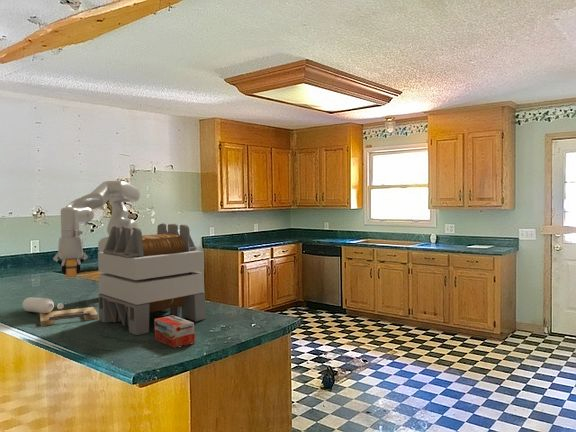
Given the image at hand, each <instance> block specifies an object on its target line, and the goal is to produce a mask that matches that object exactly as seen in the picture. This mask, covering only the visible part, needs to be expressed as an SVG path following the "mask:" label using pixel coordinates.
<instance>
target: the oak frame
mask: <svg viewBox="0 0 576 432" xmlns="http://www.w3.org/2000/svg"><path fill="white" fill-rule="evenodd" d="M77 317H83V318H84V320H85V321H92V320H99V312H98V311H97V310H96V308H95V307H94V306H90V307H89V306H88V307H80V308H70V309H63V310H62V309H61V310H52V311H51V312H49V313H39V321H40V327H44V326H45V327H46V326H52V325H55V320H59V319H60V320H61V319H69V318H77Z"/></svg>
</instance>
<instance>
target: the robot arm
mask: <svg viewBox="0 0 576 432" xmlns="http://www.w3.org/2000/svg"><path fill="white" fill-rule="evenodd" d="M140 197H141V193H140V190H139V188H138V187H137V186H135V185H133V184H131V183H129V182H127V181H123V180H105V181H103V182H102V183H100V184H99V185H98V186H97V187H96V188H95V189H93V191H91V192H90V193H88V194H85V195H83V196H81V197H78V198H76V199H73V200H72V201H70V202H69V203H68V204H67V205H66V206H65V207H62V208H61V209H60V234H61V235H60V237H58V250H57V253H56V254H55V256H54V257H53V258H52V260H53V261H55V262H56V263H58V264H59V265H60V266H61V273H62V274H63V275H65V276H66V270H65V260H66V259H77V275H78V274H80V272H81V265H82V264H83V262H84V261H86V260H87V259H88V258H89V256H88V254H87V253H86V252H85V251H84V250H83V242H82V236H80V235H83V231H81V230H80V224H81V223H83V224H84V223H89V222H92V221H93V219H94V217H95V213H94V210H96V209H99V208H100V209H101V207H103V206H104V205H105V204H107V203H108V201H109V202H110V204H111V208H112V209H111V210H112V212H111V215H110V218H109V220H108V223H107V228H106V233H107V235H109V234H110V232H111V229H112V227H115V226H119V227H120V235H121V232H122V229H123V228H121V227H128V228H131V235H132V233H133V230H134V229H132V228H138V229H139V227H138V226H139V225H138V223H137V221H136V220H134V219H131V218H129V210H128V208H127V206H126V205H125V203H137V201H139V200H140ZM108 237H109V236H106V237H102V238H100V239H99V241H98V243H97V249H98V252H103V250H104V249H105V246H106V243H107V240H108ZM100 274H105V273H104V272H100Z"/></svg>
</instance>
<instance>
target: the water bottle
mask: <svg viewBox="0 0 576 432" xmlns="http://www.w3.org/2000/svg"><path fill="white" fill-rule="evenodd" d="M21 306H22V309H23V310H24V311H26V312H32V313H39V314H40V313H49V312H53V311H54V310H53V309H54V307H55V303H54V301H53V300H52V299H51V298H47V297H46V298H45V297H34V296H32V297H31V296H28V297H26V298H25V299H24V300H23V302H22V305H21ZM56 307H57V309H58V310H62V309H64V307H65V306H64V304H63V303H61V302H60V303H58V304H57V305H56Z"/></svg>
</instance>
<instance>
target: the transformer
mask: <svg viewBox="0 0 576 432" xmlns="http://www.w3.org/2000/svg"><path fill="white" fill-rule="evenodd" d="M121 228H123V229H122V232H121V235H120V227H119V226H115V227H112V229H111V232H110V234H108V236H107V237H108V240H107V243H106V246H105V249H104V250H103V252H99V251H98V252H97V263H98V264H97V265H98V272H100V274H98V321H99V322H103V323H111V322H112V323H113V322H114V323H117V322H119V323H120V322H121V324H122V326H123V327H124V326H128V332H129V334H133V335H135V336H140V335H143V334H147V333H149V332H150V313H153V312H154V313H155V312H158V311H161V312H164V313H167V312H169V314H171V315H174V316H176V317H179V316H180V314H181V318H184V319H188V320H190V321H192V322H193V321H194V322H199V321H203V320H206V319H207V313H206V311H207V310H206V293H205V282H204V273H203V272H201V271H204V270H205V252H204V250H197V249H198V248H197V246H196V245H195V243H194V241H193V239H192V237H191V234H190V228H189V226H188V225H186V224H180V225H179V226H178V224H176V223H169V224H168V225H167V224H166V223H164V222H162V223H160V224H158V225H157V227H156V228H157V229H156V232H157V233H156V234H147V235H146V234H143V233H142V229H140V228H139V227H138V228H132V229H134V230H133V233H132V235H131V228H128V227H121ZM101 272H104V273H105V274H101Z"/></svg>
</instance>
